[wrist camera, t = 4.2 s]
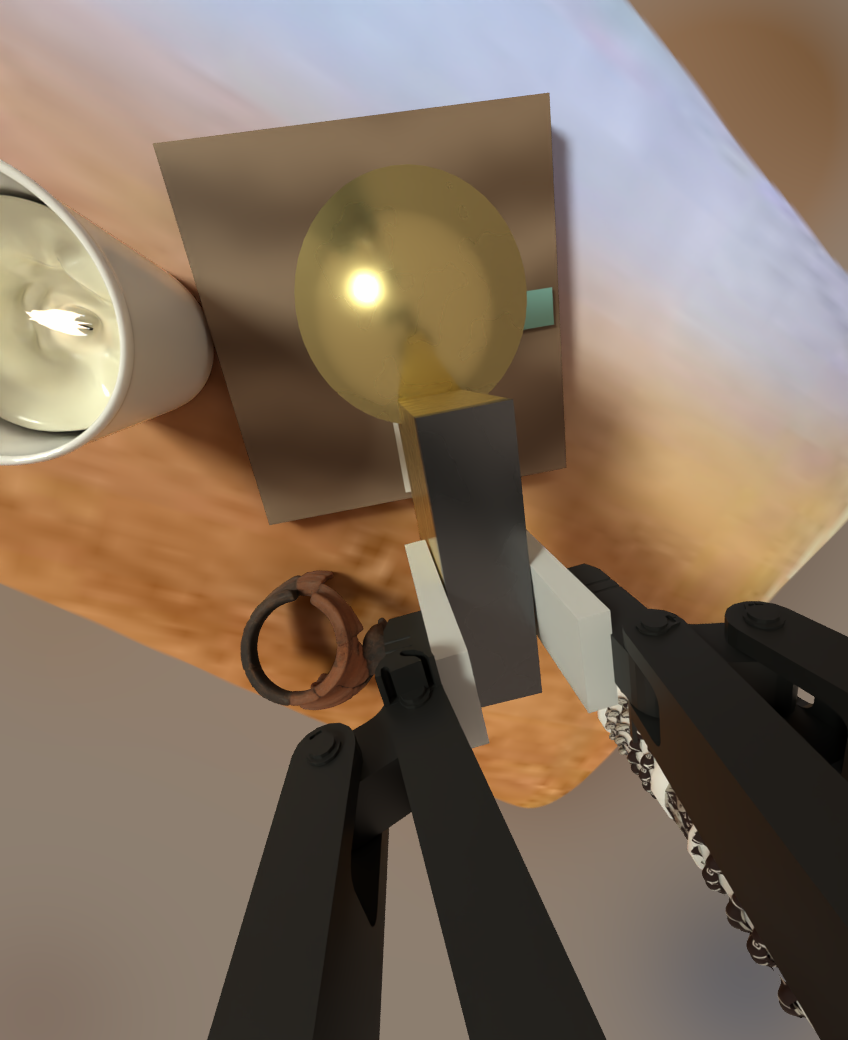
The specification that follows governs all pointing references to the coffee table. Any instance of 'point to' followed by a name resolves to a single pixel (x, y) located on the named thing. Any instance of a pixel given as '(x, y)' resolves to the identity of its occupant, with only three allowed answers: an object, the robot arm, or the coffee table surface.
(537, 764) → the coffee table surface
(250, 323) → the post plinth
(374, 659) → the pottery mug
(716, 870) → the decorative candle
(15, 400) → the candle holder
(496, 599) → the cap
